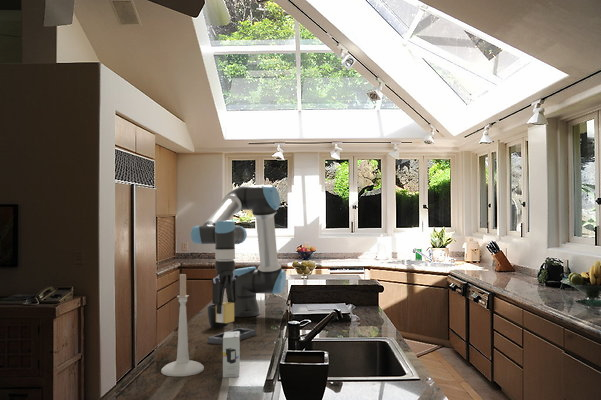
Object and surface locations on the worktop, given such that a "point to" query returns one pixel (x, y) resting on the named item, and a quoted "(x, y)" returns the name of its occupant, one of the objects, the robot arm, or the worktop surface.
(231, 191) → the robot arm
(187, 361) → the candlestick
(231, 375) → the ink box
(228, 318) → the yellow block
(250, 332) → the frame with square openings
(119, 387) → the worktop surface
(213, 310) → the mug
